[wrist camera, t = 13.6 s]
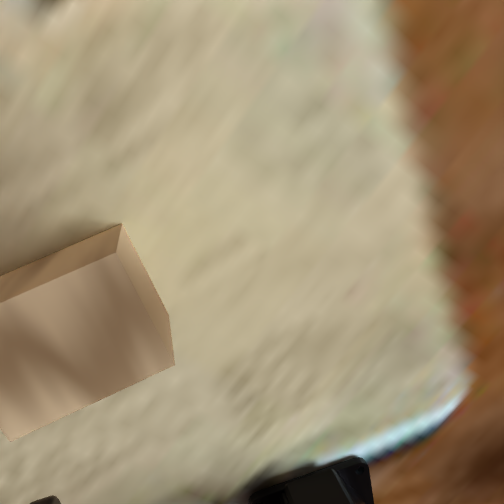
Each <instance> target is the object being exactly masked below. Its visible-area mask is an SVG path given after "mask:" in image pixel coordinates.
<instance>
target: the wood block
mask: <svg viewBox="0 0 504 504" xmlns="http://www.w3.org/2000/svg"><path fill="white" fill-rule="evenodd" d="M174 365H175V361H174V353H173V345H172V337H171V329H170V321H169V315H168V313H167V311H166V309H165V307H164V305H163V303H162V301H161V299H160V297H159V295H158V293H157V291H156V289H155V287H154V285H153V283H152V281H151V279H150V277H149V275H148V273H147V271H146V269H145V267H144V265H143V263H142V261H141V259H140V257H139V255H138V253H137V252H136V250H135V248H134V246H133V244H132V242H131V240H130V238H129V236H128V234H127V232H126V230H125V228H124V226H123V224H120V225H117V226H115V227H113V228H110V229H108V230H106V231H104V232H101V233H99V234H97V235H94V236H92V237H90V238H87V239H85V240H83V241H80V242H78V243H76V244H73V245H71V246H69V247H66V248H64V249H62V250H59V251H57V252H55V253H53V254H50V255H48V256H46V257H43V258H41V259H39V260H36V261H34V262H32V263H29V264H27V265H25V266H22V267H20V268H18V269H15V270H13V271H11V272H9V273H6V274H4V275H2V276H0V429H1V430H2V432H3V433H4V434H5V436H6V437H7V439H8V440H9V441H10V442H12V441H14V440H16V439H18V438H20V437H22V436H24V435H27V434H29V433H31V432H33V431H35V430H37V429H39V428H41V427H44V426H46V425H48V424H50V423H52V422H54V421H56V420H59V419H61V418H63V417H65V416H67V415H69V414H71V413H73V412H76V411H78V410H80V409H82V408H84V407H86V406H88V405H91V404H93V403H95V402H97V401H99V400H101V399H103V398H105V397H108V396H110V395H112V394H114V393H116V392H118V391H120V390H122V389H125V388H127V387H129V386H131V385H133V384H135V383H137V382H140V381H142V380H144V379H146V378H148V377H150V376H152V375H154V374H157V373H159V372H161V371H163V370H165V369H167V368H169V367H172V366H174Z"/></svg>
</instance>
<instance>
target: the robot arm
mask: <svg viewBox="0 0 504 504" xmlns="http://www.w3.org/2000/svg"><path fill="white" fill-rule="evenodd" d="M358 467H360V468H358ZM357 468H358V469H357ZM258 502H261V503H259V504H374V500H373V493H372V487H371V480H370V473H369V467H368V465H367V463H366V462H365V460H364V459H363V458H360V457H358V458H354V459H351V460H348V461H345V462H342V463H339V464H336V465H333V466H331V467H328V468H325V469H322V470H319V471H316V472H313V473H310V474H307V475H305V476H302V477H299V478H296V479H293V480H290V481H287V482H284V483H281V484H278V485H276V486H273V487H270V488H267V489H264V490H261V491H258V492H256V493H254V494H252V495H251V496H250V498H249V504H256V503H258ZM30 504H61V503H60V501H59V499H58V498H57V497H56V496H49V497H46V498H42V499H39V500H36V501H34V502H31V503H30Z"/></svg>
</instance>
